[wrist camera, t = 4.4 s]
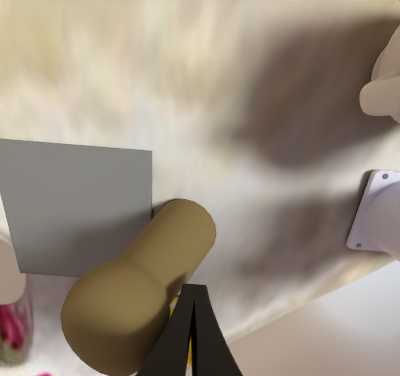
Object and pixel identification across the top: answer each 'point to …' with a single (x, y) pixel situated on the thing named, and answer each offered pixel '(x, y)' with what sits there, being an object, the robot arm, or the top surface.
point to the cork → (136, 290)
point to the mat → (73, 203)
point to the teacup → (384, 83)
